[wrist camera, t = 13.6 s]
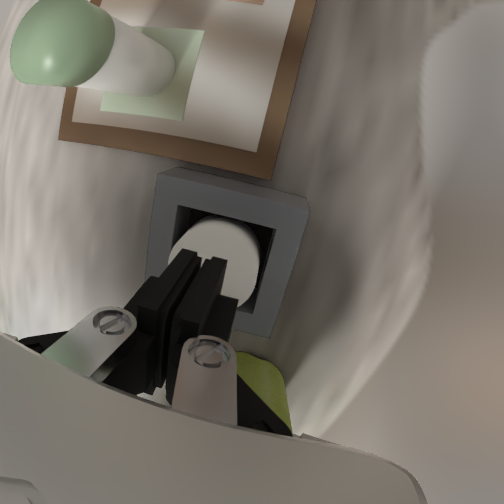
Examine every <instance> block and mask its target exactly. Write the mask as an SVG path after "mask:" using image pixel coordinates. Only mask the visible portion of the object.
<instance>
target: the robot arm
mask: <svg viewBox="0 0 504 504" xmlns="http://www.w3.org/2000/svg"><path fill="white" fill-rule="evenodd" d="M197 255H198V253H197V252H195V251H192V250H188V249H184V248H182V249H181V250H180V252H179V253H178V254H177V255H176V257H175V258H174V259H173V260H172V262H171V263H170V264H169V265H168V267H167V268H166V269H165V270H164V272H163V273H162V274H161V275H160V277H156V276H150V277H149V278H148V279H147V281H146V282H145V283H144V284H143V285H142V287H141V288H140V289H139V290H138V291H137V293H136V294H135V295H134V296H133V297H132V299H131V300H130V301H129V302H128V304H127V305H126V306H125V307H124V309H122V308H119V307H103V308H100V309H97V310H95V311H94V312H92V313H91V314H89V315H88V316H87V317H86V318H84V319H83V320H82V321H81V322H79V323H78V324H77V325H76V326H74V327H73V328H72V329H71V330H70V331H64V332H58V333H52V334H45V335H39V336H32V337H27V338H23V339H21V340H19V341H18V338H17V337H15V336H11V335H8V334H5V333H2V332H0V504H428V503H427V500H426V497H425V495H424V492H423V490H422V488H421V486H420V484H419V483H418V481H417V480H416V478H415V477H414V476H413V475H412V474H411V473H410V472H409V471H408V470H406V469H405V468H403V467H401V466H400V465H398V464H396V463H394V462H392V461H390V460H388V459H385V458H383V457H380V456H377V455H375V454H372V453H369V452H365V451H362V450H358V449H355V448H351V447H346V446H342V445H338V444H335V443H332V442H329V441H325V440H322V439H319V438H316V437H313V436H310V435H307V434H304V433H303V434H302V435H301V436H298V435H295V434H292V432H291V430H290V429H289V427H288V426H287V425H286V424H285V423H284V422H283V421H282V420H281V419H280V418H279V417H278V416H277V415H276V414H275V413H274V412H273V411H272V410H271V409H270V408H269V407H268V405H267V404H266V403H265V402H264V401H263V400H262V399H261V398H260V397H259V396H258V395H257V394H256V393H255V392H254V391H253V390H252V389H251V388H250V387H249V386H248V385H247V384H246V383H245V381H244V380H243V379H242V378H241V377H240V376H239V375H238V374H237V361H236V353H235V350H234V349H233V347H232V346H231V345H230V344H228V341H229V337H230V333H231V329H232V325H233V322H234V318H235V314H236V310H237V306H238V302H239V299H235V298H232V297H228V296H224V295H220V294H221V290H222V285H223V281H224V276H225V271H226V267H227V262H228V260H226V259H222V258H218V257H214V256H213V257H212V258H211V260H210V259H205V261H204V263H203V264H202V266H201V262H202V257H199V256H197ZM165 380H166V399H167V401H168V402H169V404H170V405H171V407H168V406H165V405H162V404H159V403H156V402H153V401H150V400H147V399H144V398H141V397H138V396H137V394H140V393H143V392H144V393H147V394H150V395H153V393H154V390H155V388H156V387H159V388H162V386H163V384H164V382H165Z"/></svg>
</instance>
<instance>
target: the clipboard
mask: <svg viewBox="0 0 504 504" xmlns="http://www.w3.org/2000/svg"><path fill="white" fill-rule="evenodd" d="M90 3H92V4H94V5H96V6H98V7H100V8H101V9H103V10H105V11H106V12H108V13H109V14H110V15H111V16H113V17H115V18H117V19H119V20H120V21H122V22H124V23H126V24H127V25H129V26H131V27H133V28H134V29H136V30H138V31H139V32H141V33H143V34H144V35H146V36H148V37H149V38H151V39H153V40H154V41H156V42H157V43H159V44H161V45H162V46H164V47H165V48H167V49H168V50H169V51H170V52H171V53H172V55H173V57H174V59H175V73H174V77H173V79H172V81H171V82H170V84H169V85H168V86H167V87H166V88H165V89H164V90H163V91H162V92H160V93H159V94H157V95H155V96H152V97H138V96H132V95H127V94H121V93H115V92H109V91H103V90H96V89H89V88H81V87H67V88H66V93H65V98H64V104H63V110H62V116H61V123H60V130H59V138H58V140H63V141H70V142H78V143H85V144H92V145H99V146H105V147H111V148H118V149H124V150H130V151H135V152H141V153H147V154H152V155H157V156H163V157H168V158H173V159H178V160H183V161H188V162H193V163H197V164H202V165H207V166H211V167H216V168H220V169H225V170H229V171H233V172H238V173H242V174H246V175H250V176H254V177H258V178H262V179H266V180H270V181H271V177H272V173H273V169H274V165H275V161H276V157H277V153H278V149H279V145H280V141H281V137H282V134H283V130H284V126H285V122H286V118H287V114H288V110H289V106H290V102H291V98H292V94H293V90H294V86H295V82H296V78H297V74H298V70H299V66H300V63H301V59H302V55H303V51H304V47H305V43H306V39H307V35H308V31H309V27H310V23H311V19H312V15H313V11H314V7H315V3H316V0H91V1H90Z"/></svg>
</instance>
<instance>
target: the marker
mask: <svg viewBox="0 0 504 504" xmlns="http://www.w3.org/2000/svg"><path fill="white" fill-rule="evenodd" d="M10 65H11V69H12V72H13V74H14V76H15V77H16V78H17V79H18V80H19V81H20V82H22V83H25V84H37V85H50V86H61V87H81V88H89V89H96V90H103V91H109V92H115V93H121V94H127V95H132V96H138V97H152V96H155V95H157V94H159V93H160V92H162V91H163V90H164V89H165V88H166V87H167V86H168V85H169V84H170V82H171V81H172V79H173V77H174V73H175V59H174V57H173V55H172V53H171V52H170V51H169V50H168V49H167V48H165V47H164V46H162V45H161V44H159V43H157V42H156V41H154V40H153V39H151V38H149V37H148V36H146V35H144V34H143V33H141V32H139V31H138V30H136V29H134V28H133V27H131V26H129V25H127V24H126V23H124V22H122V21H120V20H119V19H117V18H115V17H113V16H111V15H110V14H109V13H108V12H106V11H105V10H103V9H101V8H100V7H98V6H96V5H94V4H92V3H90V2H88V1H86V0H40V1H38V2H37V3H36V4H35V5H34V6H33V7H32V8H31V9H30V10H29V11H28V12H27V13H26V15H25V16H24V18H23V19H22V21H21V22H20V24H19V26H18V28H17V30H16V32H15V34H14V37H13V40H12V44H11V49H10Z"/></svg>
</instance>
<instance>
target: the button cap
mask: <svg viewBox="0 0 504 504" xmlns="http://www.w3.org/2000/svg"><path fill="white" fill-rule="evenodd" d="M182 248H184V249H188V250H192V251H195V252H197V253H198V255H197V256H199V257H202V262H201V266H202V264H203V263H204V261H205V259H210V260H211V258H212V257H213V256H214V257H218V258H222V259H226V260H228V262H227V267H226V271H225V276H224V281H223V285H222V290H221V294H220V295H224V296H228V297H232V298H235V299H239V302H238V306H240V305H242V304H243V303H244V302H245V301H246V300H247V299H248V298H249V297H250V295H251V294H252V292H253V290H254V287H255V285H256V279H257V274H258V269H259V264H260V259H261V250H260V245H259V242H258V239H257V237H256V235H255V234H254V232H253V231H252V230H251V229H250V228H249V226H247V225H246V224H245V223H244V222H242V221H240V220H239V219H235V218H231V217H227V216H223V215H211V216H207V217H205V218H203V219H201V220H199V221H197V222H196V223H195V224H194V225H193V226H192V227H191V228H190V229H189V230H188V231H187V232H186V233H185V234H184V235H183V236H182V237H181V239H180V240H179V241H178V242H177V243H176V244H175V246H174V247H173V249H172V251H171V253H170V256H169V260H168V265H169V264H170V263H171V262H172V260H173V259H174V258H175V257H176V255H177V254H178V253H179V252H180V250H181V249H182ZM238 306H237V307H238Z"/></svg>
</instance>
